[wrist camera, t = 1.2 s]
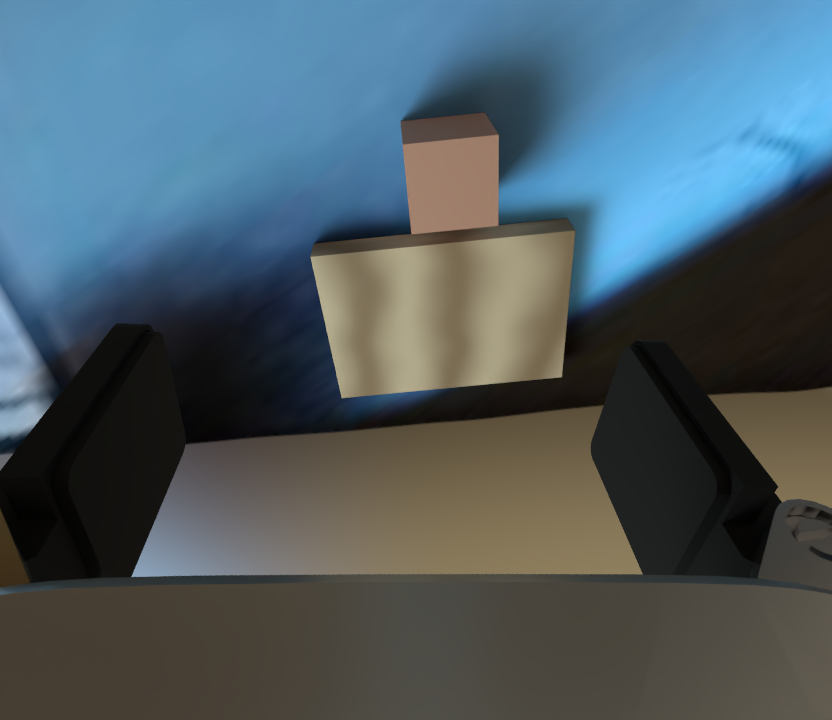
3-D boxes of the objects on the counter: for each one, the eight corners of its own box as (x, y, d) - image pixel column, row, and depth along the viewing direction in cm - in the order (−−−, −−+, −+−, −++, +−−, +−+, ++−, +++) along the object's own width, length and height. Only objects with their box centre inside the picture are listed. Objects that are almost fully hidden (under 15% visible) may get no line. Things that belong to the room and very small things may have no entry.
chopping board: (343, 381, 44) (341, 398, 42) (313, 243, 37) (310, 256, 35) (555, 361, 44) (561, 377, 42) (567, 218, 36) (575, 230, 35)
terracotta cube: (484, 112, 32) (498, 134, 28) (485, 194, 35) (498, 225, 31) (400, 120, 32) (402, 144, 28) (408, 202, 35) (411, 234, 31)
